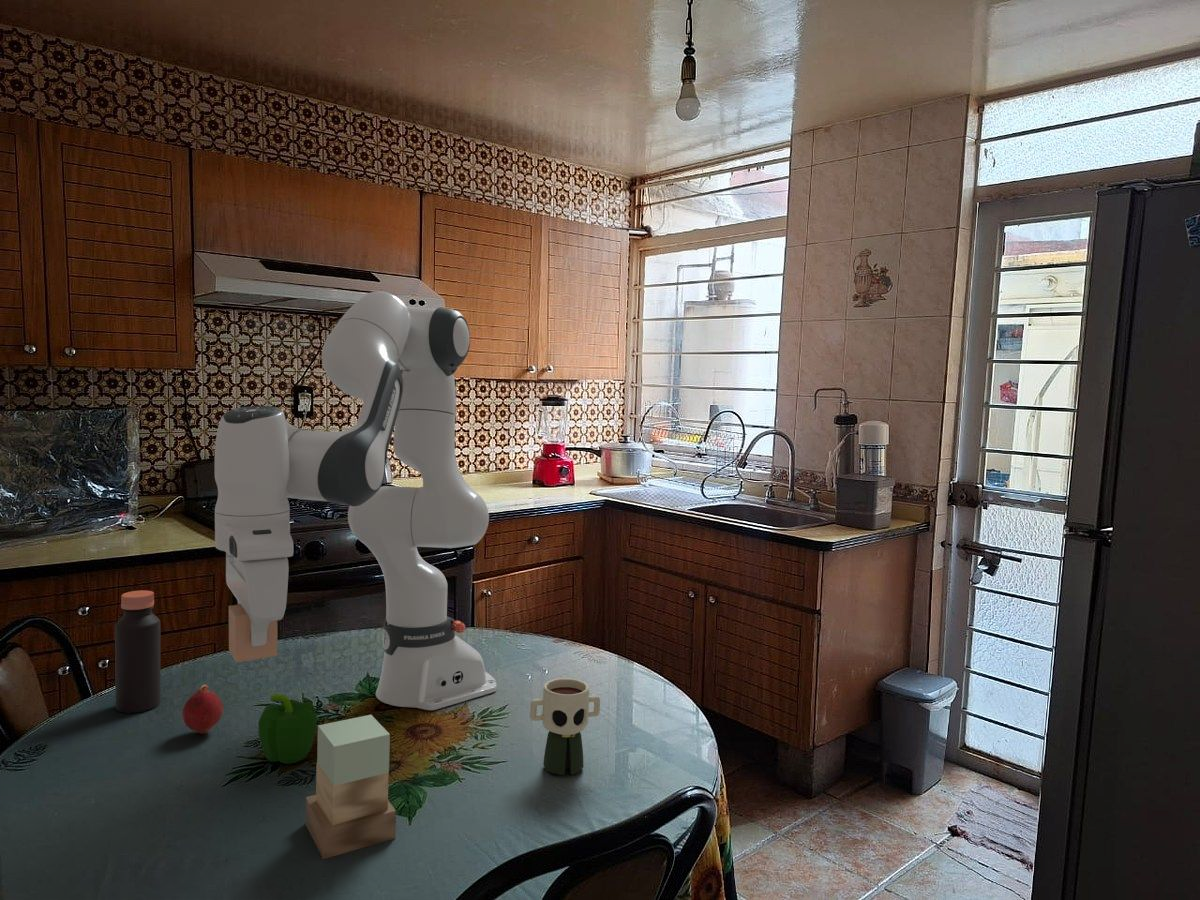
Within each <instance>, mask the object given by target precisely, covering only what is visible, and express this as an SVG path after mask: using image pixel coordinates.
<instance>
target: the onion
mask: <svg viewBox="0 0 1200 900" xmlns="http://www.w3.org/2000/svg"><path fill="white" fill-rule="evenodd" d="M223 712H224V705H223V702H222V700H221V699H220V697H219V696H218V695H217V694H216V693H215V692H213V691H211V690H209V686H208V685H207V684H202V685H201V686H200V688H198V690H197V691H196V692H195V693H194V694H192V695H191V696H190V697H189V699H188V700H187V701H186V702H185V704H184V706H183V709H182V718H183V723H184V724H185V726H186V727H187V728H188V729H190V730H192V731H194V732H196V733H198V734H201V735H204V734H206V733H208V732H210V731H209V730H211V729H212V728H213V727H215V725H217V724H218V722H219V721H220V720H221V718H222V715H223Z"/></svg>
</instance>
